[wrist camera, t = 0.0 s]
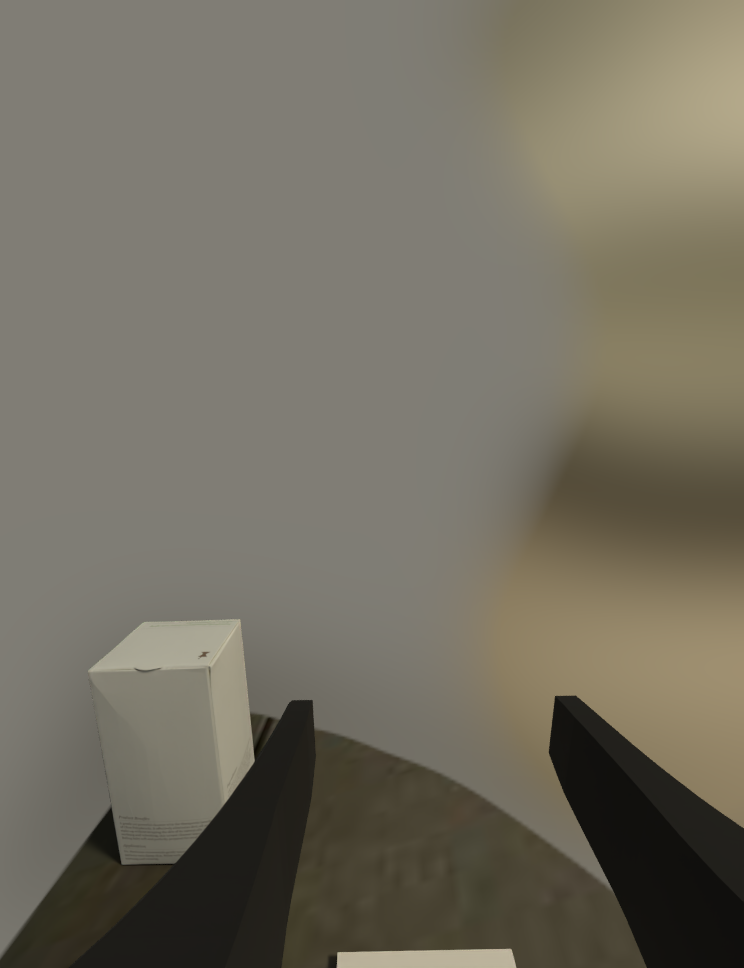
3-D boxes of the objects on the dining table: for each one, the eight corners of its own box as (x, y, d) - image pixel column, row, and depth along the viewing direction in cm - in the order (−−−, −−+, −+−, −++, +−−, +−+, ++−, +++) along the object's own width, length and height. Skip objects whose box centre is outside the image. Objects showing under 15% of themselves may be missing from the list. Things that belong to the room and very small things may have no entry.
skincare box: (258, 786, 33) (247, 616, 31) (229, 873, 27) (213, 666, 25) (162, 786, 34) (144, 617, 31) (110, 872, 27) (83, 667, 25)
